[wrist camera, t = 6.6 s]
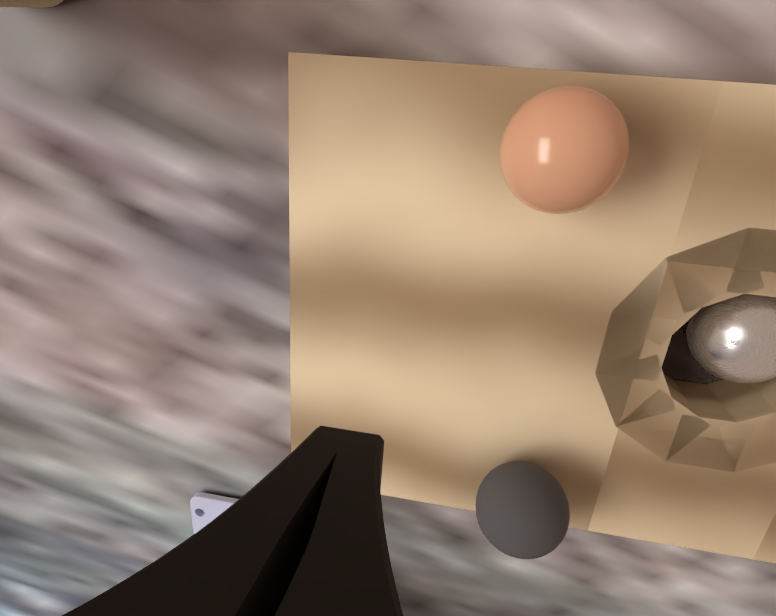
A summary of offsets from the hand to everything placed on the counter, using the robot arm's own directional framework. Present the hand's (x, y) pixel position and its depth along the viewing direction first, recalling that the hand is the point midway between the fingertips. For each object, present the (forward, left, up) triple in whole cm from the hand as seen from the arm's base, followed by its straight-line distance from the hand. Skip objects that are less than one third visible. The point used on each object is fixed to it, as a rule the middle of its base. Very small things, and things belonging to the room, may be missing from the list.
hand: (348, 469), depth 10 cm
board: (0, -6, -10) cm, 12 cm away
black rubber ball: (-6, -5, -6) cm, 10 cm away
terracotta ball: (+6, -4, -6) cm, 10 cm away
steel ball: (+1, -11, -9) cm, 14 cm away
